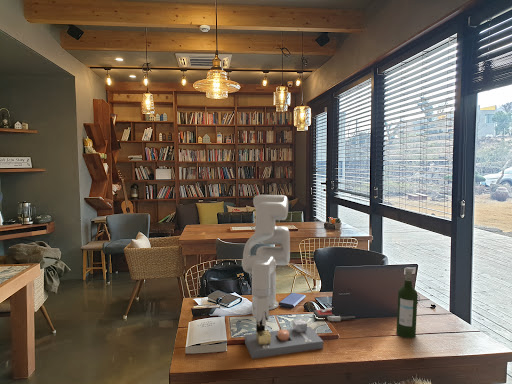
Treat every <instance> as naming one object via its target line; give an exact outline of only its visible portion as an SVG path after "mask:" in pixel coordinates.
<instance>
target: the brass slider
mask: <svg viewBox="0 0 512 384" xmlns="http://www.w3.org/2000/svg"><path fill="white" fill-rule="evenodd" d="M269 332H270V330H267V329H265V331H257V332H255V334H256V341H257V342H258V344H259V345H262V344H269V343H271V334H270V333H269Z"/></svg>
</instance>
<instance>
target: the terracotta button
mask: <svg viewBox="0 0 512 384" xmlns="http://www.w3.org/2000/svg"><path fill="white" fill-rule="evenodd" d="M277 331H278V332H277V339H278V340H279V341H283V342H284V341H288V340H289V331H287V329H283V328H282V329H278V330H277Z"/></svg>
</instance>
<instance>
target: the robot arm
mask: <svg viewBox="0 0 512 384" xmlns="http://www.w3.org/2000/svg"><path fill="white" fill-rule="evenodd" d="M252 202H253V206H254V210H255V224H254V225H255V227H254V233H253V234H252V235H251V236H250V237H249V238H248V239H247V241H246V243H245V245H244V248H243V253H242V270H243V271H244V272H245V273H247V274H251V296H252V299H251V300H252V302H251V314H252V316H253V318H254V319H255V321H256V332H257V331H265V330H266V325H267V321H269V319H270V311H271V310H275V309H277V308H278V307H279V301H277V300H276V296H277V295H276V293H277V292H276V290H277V289H276V287H277V284H276V281H277V279H276V277H277V274H276V273H277V272H276V268H277V266H287V265H288V264H289V263H290V259H291V256H290V255H291V234H290V230H289V228H288V227H287V226H283V225H281V226H279V225H278V226H277V225H276V221H285V220H286V219H287V218H288V213H289V199H288V197H287V196H286V195H284V194H258V195H255V196H254V197H253V199H252ZM259 243H260V244H263V245H262V246H259V247H258V248H257V249H256V252H255V254H256V255H255V254H251V250H252V248H253V247H254V246H255V245H258V244H259ZM265 245H266V246H265ZM267 245H269V246H267ZM271 245H273V246H271ZM274 245H278V246H274ZM256 332H255V333H256Z"/></svg>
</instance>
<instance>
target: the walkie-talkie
mask: <svg viewBox="0 0 512 384" xmlns="http://www.w3.org/2000/svg"><path fill="white" fill-rule="evenodd" d="M332 308H333V307H326V308H324V309H322V308H321V309H315V310H314V309H313V315H314V314H315V315H316V317H318V318H325V319H328V320H327V321H330V322H341V320H342V321H343V320H350V319H356V316H354V315H353V316H340V315H339V316H335V315H334V314H332V312H331V311H332Z"/></svg>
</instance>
